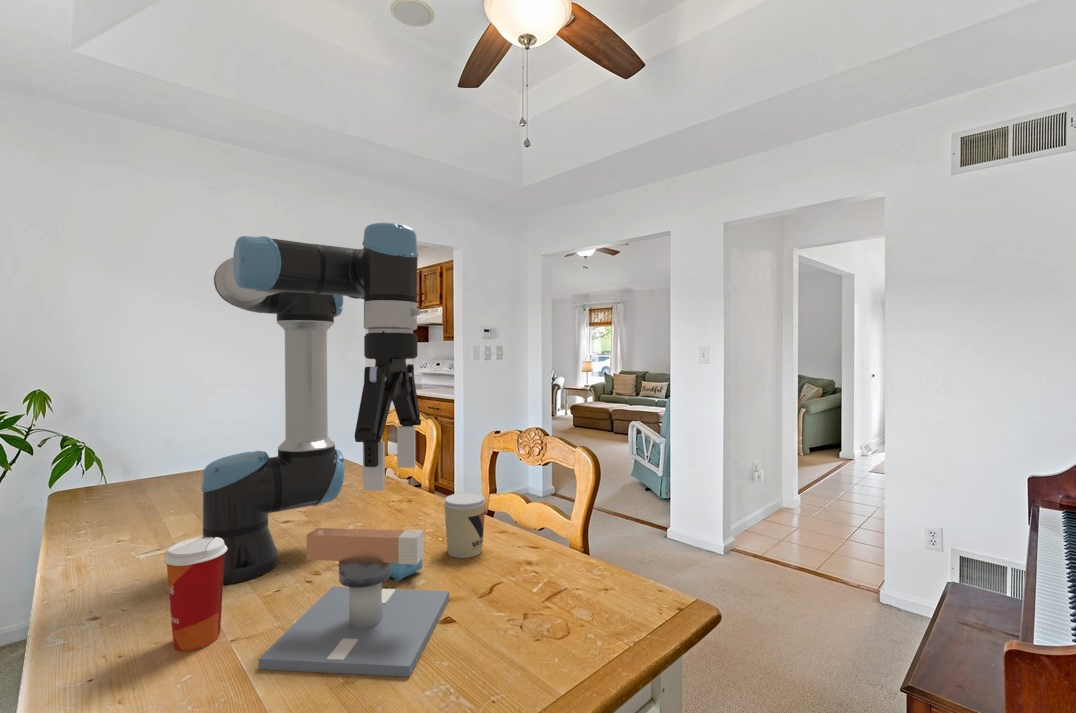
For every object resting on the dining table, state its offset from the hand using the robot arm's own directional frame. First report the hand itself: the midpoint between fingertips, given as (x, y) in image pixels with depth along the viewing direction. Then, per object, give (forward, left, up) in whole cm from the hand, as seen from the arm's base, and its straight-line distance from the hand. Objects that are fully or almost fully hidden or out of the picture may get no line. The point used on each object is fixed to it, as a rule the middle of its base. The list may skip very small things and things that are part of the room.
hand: (391, 477), depth 75 cm
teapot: (-8, +27, -27) cm, 39 cm away
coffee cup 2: (+2, +40, -27) cm, 48 cm away
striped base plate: (-7, +7, -27) cm, 28 cm away
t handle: (-7, +7, -18) cm, 20 cm away
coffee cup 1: (-32, +2, -27) cm, 42 cm away
